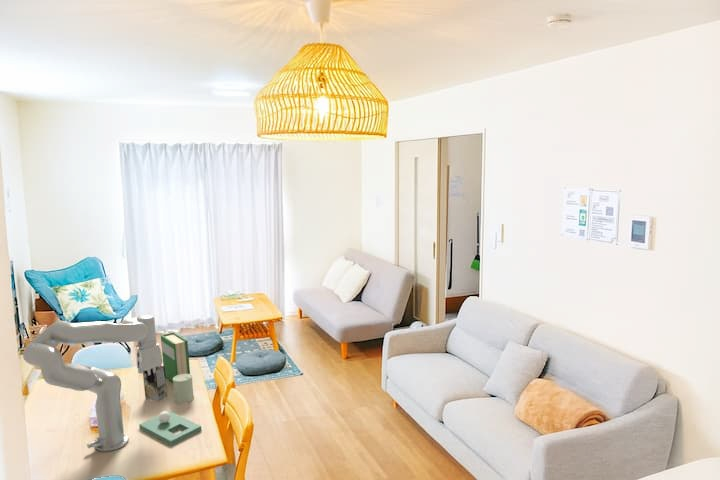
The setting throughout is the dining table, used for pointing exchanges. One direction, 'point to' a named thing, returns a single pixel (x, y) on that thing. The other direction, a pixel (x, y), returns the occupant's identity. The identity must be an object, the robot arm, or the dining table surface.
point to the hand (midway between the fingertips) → (151, 382)
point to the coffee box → (156, 386)
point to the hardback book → (175, 355)
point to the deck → (170, 428)
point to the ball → (164, 417)
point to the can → (183, 388)
